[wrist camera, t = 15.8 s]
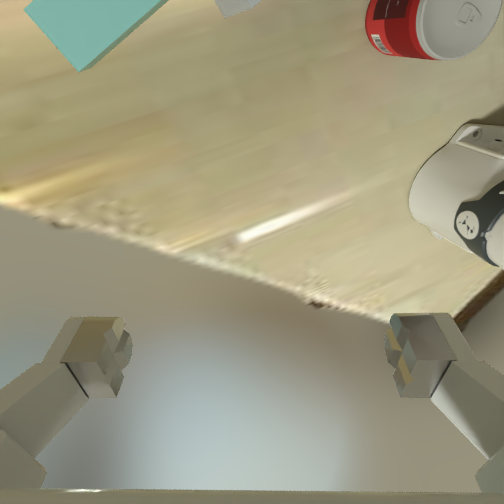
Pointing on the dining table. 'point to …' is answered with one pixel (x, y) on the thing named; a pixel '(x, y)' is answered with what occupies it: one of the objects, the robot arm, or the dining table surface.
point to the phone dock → (235, 6)
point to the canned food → (430, 26)
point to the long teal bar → (89, 25)
